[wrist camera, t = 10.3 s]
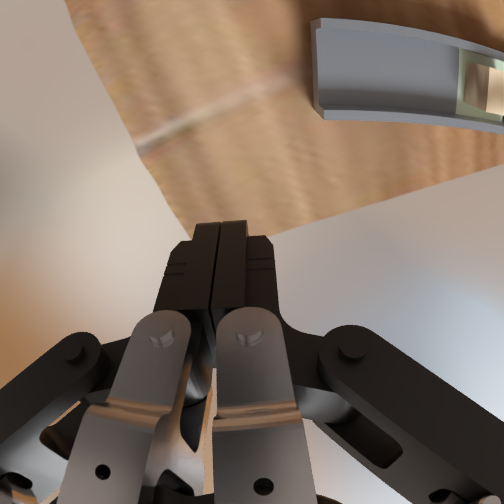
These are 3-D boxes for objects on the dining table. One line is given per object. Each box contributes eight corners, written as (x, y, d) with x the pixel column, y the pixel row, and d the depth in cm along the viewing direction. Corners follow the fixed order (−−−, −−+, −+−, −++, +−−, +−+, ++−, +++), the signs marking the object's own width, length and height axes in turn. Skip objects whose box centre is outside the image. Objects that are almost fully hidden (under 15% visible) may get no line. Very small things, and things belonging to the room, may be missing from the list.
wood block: (465, 60, 25) (489, 67, 21) (495, 69, 24) (519, 77, 21) (463, 101, 28) (485, 111, 24) (492, 107, 27) (515, 118, 24)
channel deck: (309, 21, 26) (320, 17, 22) (531, 67, 25) (557, 75, 20) (313, 108, 32) (324, 120, 28) (525, 130, 31) (548, 144, 26)
